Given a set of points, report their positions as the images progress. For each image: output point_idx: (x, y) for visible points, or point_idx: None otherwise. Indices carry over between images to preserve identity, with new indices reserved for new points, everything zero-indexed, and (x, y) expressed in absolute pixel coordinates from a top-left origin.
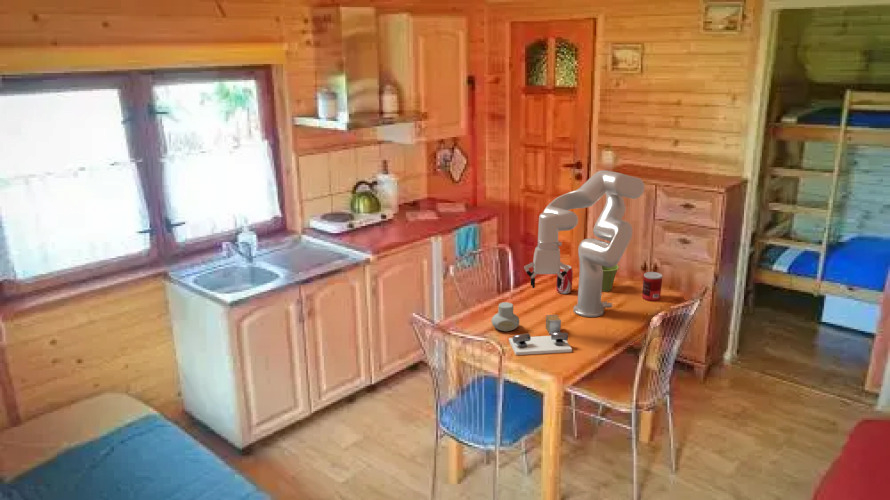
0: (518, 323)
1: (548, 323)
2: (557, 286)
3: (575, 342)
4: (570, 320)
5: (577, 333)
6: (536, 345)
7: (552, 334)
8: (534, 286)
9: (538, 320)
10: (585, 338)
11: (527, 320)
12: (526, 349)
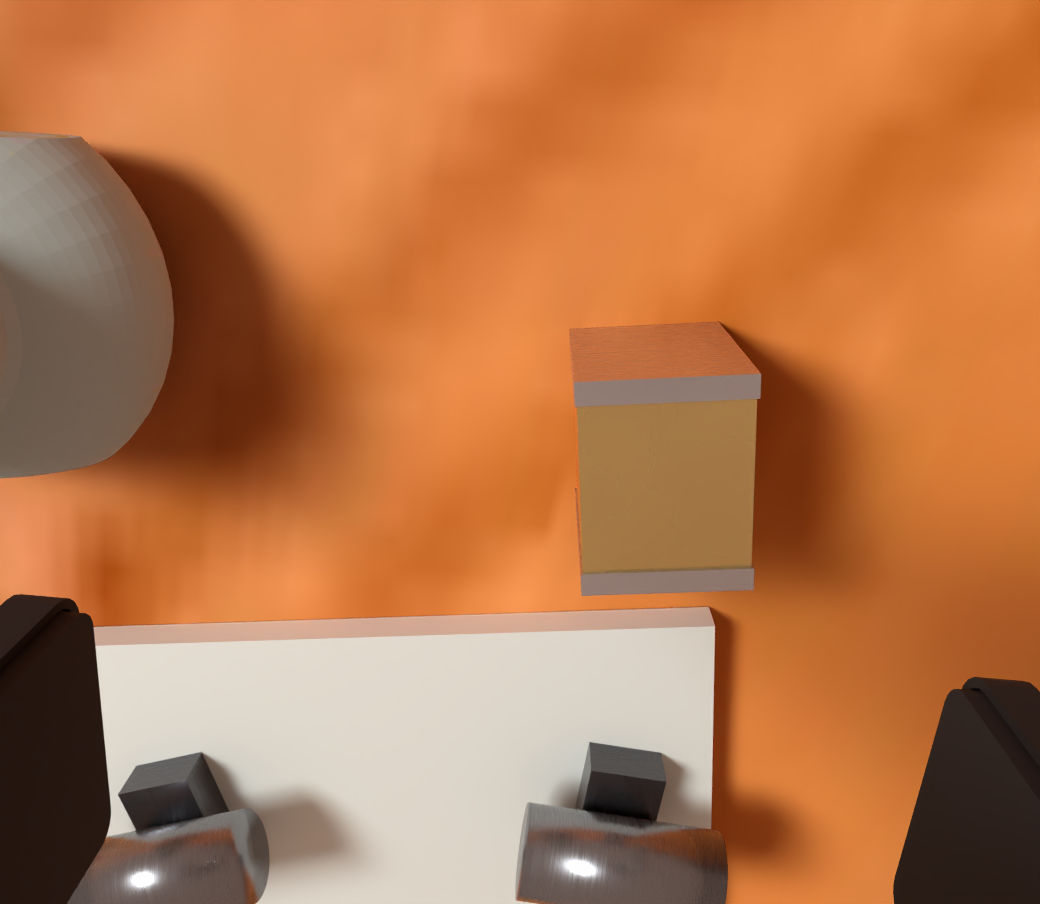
0: (149, 405)
1: (578, 480)
2: (919, 842)
3: (819, 716)
4: (1020, 69)
5: (937, 505)
6: (355, 827)
7: (526, 901)
8: (74, 876)
9: (521, 34)
10: (976, 636)
11: (351, 23)
12: None
